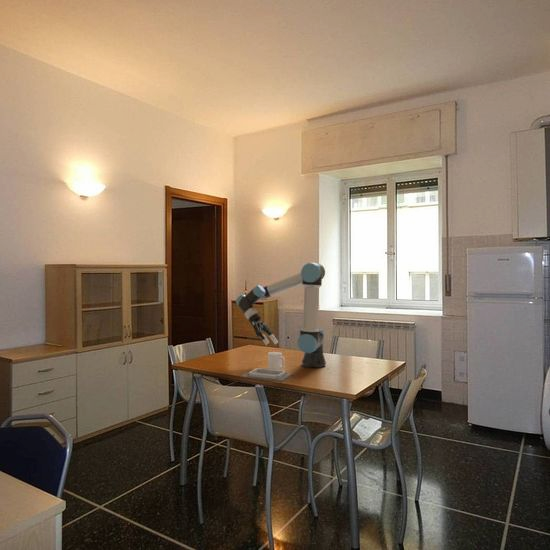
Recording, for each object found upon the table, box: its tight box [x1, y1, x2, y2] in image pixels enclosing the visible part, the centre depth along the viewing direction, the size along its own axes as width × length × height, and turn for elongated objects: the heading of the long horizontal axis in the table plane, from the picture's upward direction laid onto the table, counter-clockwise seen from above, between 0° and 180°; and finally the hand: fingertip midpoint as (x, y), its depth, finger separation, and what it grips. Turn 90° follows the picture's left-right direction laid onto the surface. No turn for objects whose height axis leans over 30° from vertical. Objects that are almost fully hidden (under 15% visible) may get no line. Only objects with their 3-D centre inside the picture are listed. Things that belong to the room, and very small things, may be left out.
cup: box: [267, 351, 286, 370], centre depth 265 cm, size 8×12×10 cm
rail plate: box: [240, 367, 293, 383], centre depth 250 cm, size 24×18×2 cm
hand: (272, 343), depth 272 cm, fingers open, 13 cm apart
